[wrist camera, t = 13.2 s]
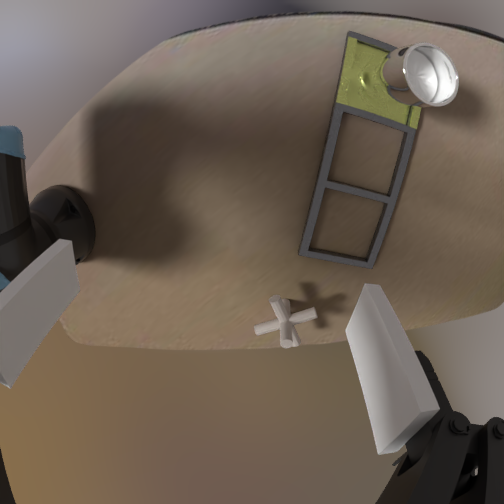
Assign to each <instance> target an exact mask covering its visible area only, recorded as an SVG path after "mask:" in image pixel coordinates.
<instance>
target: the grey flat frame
mask: <svg viewBox="0 0 504 504" xmlns="http://www.w3.org/2000/svg"><path fill="white" fill-rule="evenodd" d="M358 42H359V43H358ZM361 43H362V44H361ZM364 44H365V45H364ZM367 45H368V46H367ZM370 46H371V47H370ZM373 47H374V48H373ZM395 49H397V47H394V46H392V45H389V44H387V43H384V42H381V41H379V40H376V39H373V38H370V37H367V36H364V35H361V34H358V33H355V32H352V31H349V32H348V33H347V38H346V43H345V49H344V54H343V60H342V65H341V70H340V75H339V80H338V85H337V90H336V95H335V100H334V105H333V110H332V114H331V119H330V124H329V128H328V133H327V137H326V142H325V146H324V150H323V155H322V159H321V163H320V167H319V172H318V176H317V180H316V184H315V188H314V192H313V196H312V200H311V204H310V208H309V212H308V216H307V220H306V223H305V227H304V231H303V235H302V239H301V242H300V246H299V250H298V255H300V256H306V257H311V258H316V259H322V260H327V261H332V262H338V263H343V264H348V265H354V266H359V267H364V268H369V269H372V267H373V265H374V262H375V260H376V257H377V255H378V252H379V249H380V247H381V244H382V241H383V239H384V236H385V233H386V230H387V227H388V224H389V222H390V219H391V216H392V213H393V210H394V207H395V203H396V200H397V197H398V194H399V191H400V187H401V184H402V181H403V177H404V174H405V170H406V167H407V163H408V159H409V156H410V152H411V148H412V144H413V140H414V136H415V132H416V129H417V126H418V121H419V117H420V112H421V107H412V106H407V105H403V104H400V103H398V102H395V101H391V102H387V103H380V102H377V101H374V100H373V99H371V98H370V97H369V96H368V95H367V94H366V93H365V92H364V90H363V88H362V85H361V73H362V71H363V69H364V68H365V67H366V66H367V65H368V64H370V63H373V62H381V60H382V59H383V58H384V57H385V56H386V55H388V54H389V53H390V52H392V51H393V50H395ZM381 50H382V51H381ZM384 51H385V52H384ZM343 112H345V113H348V114H352V115H355V116H358V117H362V118H365V119H368V120H371V121H374V122H377V123H380V124H383V125H386V126H389V127H392V128H395V129H397V130H400V131H403V132H404V136H403V140H402V144H401V148H400V152H399V155H398V159H397V163H396V167H395V170H394V174H393V177H392V181H391V184H390V187H389V191H388V194H387V195H386V194H382V193H379V192H375V191H371V190H368V189H364V188H360V187H356V186H352V185H349V184H345V183H341V182H337V181H332V180H328V179H327V178H328V174H329V170H330V166H331V162H332V157H333V153H334V149H335V145H336V141H337V136H338V132H339V127H340V123H341V118H342V114H343ZM408 113H409V114H408ZM325 188H329V189H333V190H338V191H342V192H346V193H350V194H354V195H358V196H362V197H366V198H369V199H373V200H377V201H381V202H384V203H385V204H384V207H383V210H382V213H381V216H380V219H379V222H378V225H377V228H376V231H375V234H374V237H373V240H372V242H371V245H370V248H369V251H368V253H367V256H366V259H364V258H359V257H354V256H349V255H344V254H339V253H334V252H329V251H324V250H319V249H313V248H309V245H310V242H311V238H312V235H313V231H314V227H315V224H316V220H317V216H318V213H319V209H320V205H321V201H322V197H323V194H324V190H325Z"/></svg>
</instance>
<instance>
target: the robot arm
mask: <svg viewBox="0 0 504 504" xmlns="http://www.w3.org/2000/svg"><path fill="white" fill-rule="evenodd" d="M25 159H26V156H25V155H24V149H23V136H22V132H21V130H20V129H19V128H18V127H15V126H0V383H1V384H3V385H5V386H7V387H9V388H11V387H12V385H13V384H14V382H15V381H16V379H17V378H18V376H19V375H20V373H21V372H22V370H23V368H24V367H25V365H26V364H27V362H28V361H29V359H30V358H31V356H32V355H33V353H34V352H35V350H36V349H37V348H38V346H39V345H40V343H41V342H42V340H43V339H44V338H45V336H46V335H47V333H48V332H49V331H50V329H51V328H52V326H53V325H54V324H55V322H56V321H57V320H58V319H59V317H60V316H61V315H62V313H63V312H64V311H65V309H66V308H67V307H68V305H69V304H70V303H71V302H72V300H73V299H74V298H75V297H76V295H77V294H78V293H79V292H80V286H79V281H78V276H77V270H76V265H77V264H79V263H80V262H82V261H83V260H84V259H85V258H86V257H87V256H88V255H89V253H90V252H91V250H92V248H93V245H94V241H95V227H94V222H93V219H92V216H91V213H90V211H89V209H88V207H87V205H86V204H85V202H84V201H83V200H82V199H81V197H80V196H79V195H78V194H76V193H75V192H74V191H73V190H71V189H69V188H67V187H64V186H51V187H49V188H47V189H45V190H43V191H41V192H40V193H39V194H37V195H36V197H35V198H34V199H33V201H32V202H31V203H30V204H29V201H28V193H27V183H26V171H25ZM345 331H346V335H347V338H348V341H349V344H350V348H351V351H352V354H353V358H354V362H355V365H356V369H357V372H358V376H359V379H360V383H361V387H362V390H363V394H364V398H365V402H366V406H367V410H368V413H369V418H370V422H371V425H372V429H373V434H374V439H375V443H376V447H377V451H378V454H386V453H393V452H397V451H398V450H399V449H400V448H401V447H402V446H404V444H405V445H406V448H407V452H406V453H404V454H403V455H402V456H401V457H400V458H398V459H397V460H396V461H395V462H394V463H393V464H392V465H393V466H395V465H396V464H398V463H399V464H398V466H397V468H396V470H395V472H394V473H393V475H392V477H391V479H390V481H389V482H388V484H387V486H386V487H385V489H384V491H383V493H382V494H381V496H380V497H379V499H378V500H377V502H376V503H375V504H504V420H503V419H501V418H499V417H493V418H492V419H490V420H489V421H488V422H487V423H486V424H485V425H476V424H470V422H469V420H468V419H467V417H466V416H464V415H463V414H461V413H459V412H456V411H453V410H452V408H451V406H450V403H449V401H448V399H447V397H446V395H445V392H444V390H443V388H442V386H441V383H440V382H439V381H438V377H437V375H436V373H435V372H434V369H433V367H432V365H431V363H430V361H429V359H428V358H427V357H426V356H425V355H424V354H423V353H422V352H421V351H414V349H413V347H412V345H411V343H410V341H409V339H408V337H407V335H406V333H405V331H404V329H403V327H402V325H401V323H400V321H399V319H398V317H397V316H396V314H395V312H394V310H393V308H392V306H391V304H390V302H389V301H388V299H387V297H386V295H385V293H384V291H383V290H382V288H381V286H380V285H376V284H368V283H365V284H364V286H363V289H362V291H361V294H360V297H359V299H358V302H357V304H356V307H355V309H354V311H353V314H352V316H351V319H350V321H349V323H348V326H347V328H346V330H345ZM476 468H478V474H477V475H476V476H475V469H476ZM0 504H16V503H15V500H14V497H13V494H12V491H11V488H10V485H9V481H8V477H7V474H6V470H5V466H4V462H3V458H2V453H1V449H0Z"/></svg>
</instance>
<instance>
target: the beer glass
mask: <svg viewBox="0 0 504 504" xmlns="http://www.w3.org/2000/svg"><path fill="white" fill-rule="evenodd" d="M361 85H362V88H363V90H364V92H365V93H366V94H367V95H368V96H369V97H370V98H371V99H373V100H374V101H377V102H380V103H387V102H391V101H395V102H398V103H400V104H403V105H407V106H412V107H434V106H437V107H439V106H444V105H447V104H449V103H450V102H451V101H452V100H453V99H454V98H455V96H456V94H457V91H458V87H459V77H458V72H457V69H456V67H455V64H454V63H453V61H452V59H451V58H450V57H449V55H448V54H447V53H446V52H445V51H444V50H442V49H441V48H440V47H438V46H436V45H434V44H431V43H427V42H421V43H416V44H411V45H407V46H403V47H400V48H397V49H395V50H393V51H392V52H390V53H389V54H388V55H386V56H385V57H384V58H383V59H382V60H381V62H373V63H370V64H368V65H367V66H366V67H365V68H364V69H363V71H362V73H361Z"/></svg>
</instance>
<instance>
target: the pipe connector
mask: <svg viewBox="0 0 504 504" xmlns="http://www.w3.org/2000/svg"><path fill="white" fill-rule="evenodd" d="M269 302H270V304H271V306H272V308H273V310H274V312H275V314H276V316H277V319H274V320H270V321H267V322H264V323H260V324H257V325H255V326H254V329H255V333H256V334H257V335H262V334H265V333H269V332H272V331H276V330H279V329H280V345H281V346H282V347H283V348H290V347H291V346H293V347H295V346H298V345H299V344H300V343H301V340H300V338H299V336H298V333H297V331H296V329H295V327H294V325H296V324H299V323H302V322H305V321H309V320H312V319H315V318H318V317H317V313H316V310H315V307H312V308H309V309H306V310H303V311H299V312H296V313H293V314H291V310H290V301H289V300H288V299H281V297H280V295H273V296H272V297H270V299H269Z"/></svg>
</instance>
